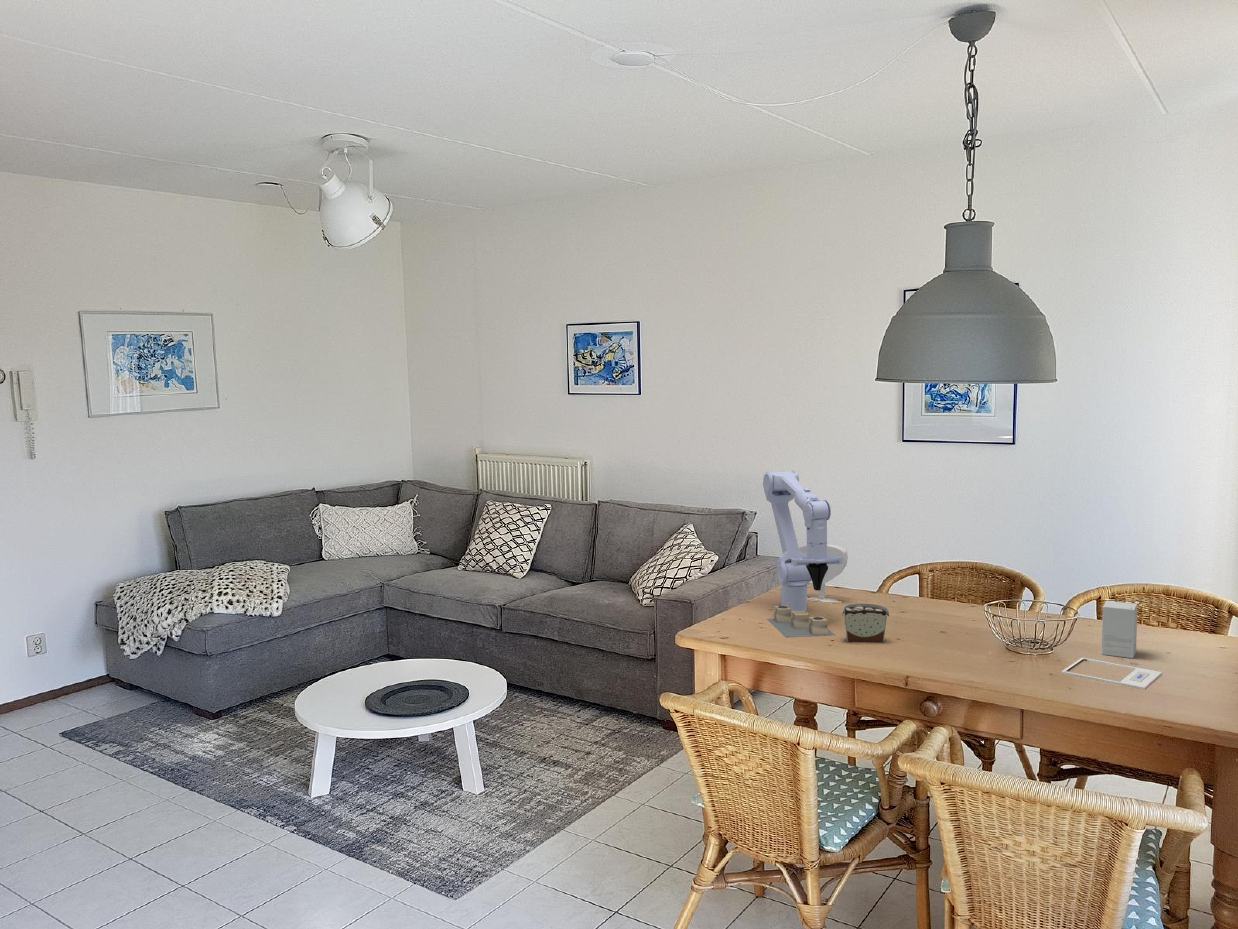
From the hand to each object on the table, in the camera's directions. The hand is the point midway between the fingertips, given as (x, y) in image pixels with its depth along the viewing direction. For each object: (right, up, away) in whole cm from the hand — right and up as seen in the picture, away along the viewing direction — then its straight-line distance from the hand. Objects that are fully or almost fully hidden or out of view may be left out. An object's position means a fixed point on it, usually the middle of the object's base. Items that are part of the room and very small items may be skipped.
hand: (817, 589), depth 273 cm
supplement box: (+71, -13, -30) cm, 78 cm away
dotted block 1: (-9, -10, +3) cm, 14 cm away
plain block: (-6, -10, -3) cm, 12 cm away
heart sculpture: (+8, -8, +30) cm, 32 cm away
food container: (+9, -12, -17) cm, 22 cm away
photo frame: (+61, -15, -46) cm, 77 cm away
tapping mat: (-5, -11, -3) cm, 13 cm away
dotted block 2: (-2, -11, -10) cm, 14 cm away
